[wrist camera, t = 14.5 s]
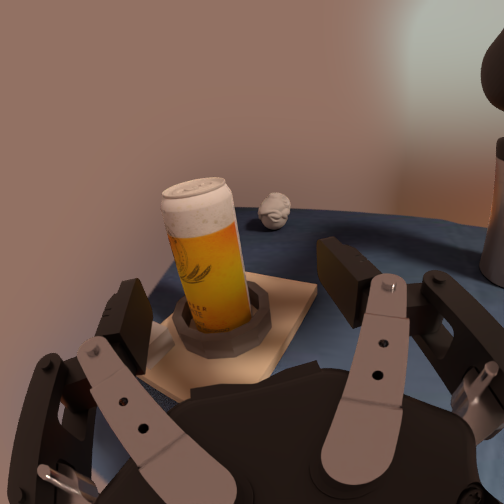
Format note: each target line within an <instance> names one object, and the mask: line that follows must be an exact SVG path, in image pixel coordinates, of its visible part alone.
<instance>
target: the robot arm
mask: <svg viewBox="0 0 504 504" xmlns="http://www.w3.org/2000/svg"><path fill="white" fill-rule="evenodd" d="M481 83H482V88H483V91H484V93H485V95H486V97H487V99H488V100H489V101H490V103H491V104H492V105H494V106H495V107H496V108H498V109H500V110H502V111H504V29H503V30H502V32H501V33H500V34H499V35H498V37H497V38H496V39H495V40H494V42H493V43H492V44H491V46H490V47H489V48H488V50H487V52H486V54H485V56H484V58H483V62H482V67H481ZM479 267H480V270H481V272H482V273H483V275H484V276H485V277H486V278H487V279H489V280H490V281H491V282H493V283H495V284H497V285H498V286H501V287H504V137H502V138H499V139H498V141H497V145H496V167H495V181H494V191H493V199H492V206H491V213H490V219H489V224H488V229H487V234H486V239H485V243H484V248H483V252H482V256H481V260H480V263H479ZM317 272H318V277H319V280H320V282H321V284H322V285H323V286H324V288H325V289H326V291H327V292H328V294H329V295H330V296H331V298H332V299H333V301H334V302H335V304H336V305H337V307H338V308H339V309H340V311H341V312H342V314H343V315H344V317H345V318H346V320H347V321H348V323H349V324H350V326H351V327H352V329H354V328H357V327H360V326H362V327H361V331H360V335H359V339H358V343H357V347H356V351H355V355H354V358H353V362H352V365H351V369H350V372H349V371H346V370H341V369H334V368H322V369H320V367H319V365H318V363H317V360H316V361H312V362H309V363H306V364H302V365H299V366H295V367H291V368H288V369H285V370H283V371H281V372H279V373H277V374H275V375H273V376H271V377H269V378H267V379H264V380H262V381H260V382H258V383H254V384H216V385H210V386H204V387H197V388H191V389H190V398H189V399H186V400H184V401H182V402H180V403H179V404H177V405H175V406H174V407H173V408H171V409H170V410H169V411H168V412H167V413H165V412H164V410H163V409H162V408H161V407H160V406H159V405H158V404H157V403H156V402H155V400H154V399H153V398H152V397H151V396H150V395H149V394H148V392H147V391H146V390H145V389H144V388H143V386H142V385H141V384H140V383H139V382H138V380H137V379H136V378H135V377H136V376H137V375H145V374H146V365H147V357H148V349H149V342H150V335H151V329H152V322H153V312H152V308H151V305H150V303H149V300H148V298H147V296H146V293H145V291H144V289H143V286H142V284H141V282H140V280H139V279H138V278H135V279H130V280H126V281H122V283H121V285H120V288H119V290H118V293H117V294H114V295H113V296H112V297H111V298H110V300H109V301H108V302H107V304H106V307H105V311H104V312H103V315H102V318H101V320H100V323H99V325H98V328H97V331H96V334H95V337H92V338H90V339H88V340H86V341H85V342H84V343H83V344H82V345H81V346H80V347H79V349H78V352H77V356H76V357H74V358H71V359H68V360H66V361H63V360H62V359H61V358H60V356H59V355H58V354H56V353H50V354H47V355H45V356H44V357H43V358H41V360H40V361H39V362H38V363H37V365H36V368H35V370H34V373H33V376H32V379H31V381H30V384H29V387H28V391H27V394H26V397H25V400H24V404H23V407H22V411H21V415H20V419H19V422H18V427H17V431H16V435H15V440H14V446H13V450H12V456H11V463H10V470H9V478H8V488H7V489H8V490H7V495H8V500H9V503H10V504H503V503H502V502H500V501H499V500H497V499H496V498H495V497H493V496H492V495H491V494H490V493H489V492H488V491H487V490H486V489H485V488H484V487H483V485H482V484H481V482H480V479H479V474H478V469H477V460H476V446H477V445H478V444H479V443H481V442H482V441H483V440H489V439H491V438H493V437H494V436H495V435H496V434H497V433H499V432H500V431H501V430H502V429H503V428H504V328H503V327H502V326H501V325H500V324H499V323H498V322H497V321H496V320H495V319H494V317H493V316H492V315H491V314H490V313H489V312H488V311H487V310H486V309H485V308H484V307H483V306H482V305H481V304H480V303H479V302H478V301H477V300H476V299H475V298H474V297H473V296H472V295H471V294H469V293H468V292H467V291H466V290H465V289H464V288H463V287H462V286H461V285H460V284H459V283H458V282H457V281H456V280H454V279H453V278H452V277H451V276H450V275H449V274H447V273H445V272H442V271H438V270H431V271H428V272H426V273H425V274H424V276H423V281H422V283H413V284H406V282H405V281H404V280H403V279H402V278H401V277H399V276H397V275H394V274H382V273H381V272H380V271H379V270H378V269H377V268H376V267H375V266H374V265H373V264H372V263H371V262H370V261H369V260H367V258H365V257H364V256H363V255H362V254H361V253H360V252H359V251H358V250H357V249H356V248H353V247H351V246H349V245H343V244H342V243H341V242H340V241H338V240H337V239H336V238H335V237H334V236H333V237H328V238H324V239H319V240H318V241H317ZM443 318H445V319H446V320H447V322H448V323H449V324H450V325H451V326H452V328H453V331H454V337H453V336H452V335H451V334H450V333H449V331H448V330H447V329H446V328H445V327H444V325H443V324H442V320H443ZM409 336H412V338H413V339H414V340H415V342H416V343H417V344H418V346H419V347H420V349H421V350H422V352H423V353H424V354H425V356H426V357H427V359H428V360H429V362H430V363H431V364H432V366H433V367H434V369H435V370H436V372H437V373H438V375H439V376H440V378H441V379H442V381H443V382H444V384H445V386H446V387H447V389H448V390H449V392H450V393H451V395H452V397H451V407H452V412H450V411H447V410H444V409H441V408H439V407H436V406H433V405H430V404H428V403H425V402H423V401H420V400H417V399H415V398H412V397H410V396H407V395H405V394H403V392H404V384H405V376H406V367H407V357H408V344H409ZM60 402H61V403H62V404H63V405H64V406H65V409H64V414H63V419H62V425H61V424H60V423H59V420H58V410H59V405H60ZM97 406H98V407H99V408H100V410H101V412H102V413H103V415H104V417H105V418H106V420H107V422H108V423H109V425H110V427H111V428H112V430H113V431H114V433H115V434H116V436H117V437H118V439H119V440H120V442H121V443H122V445H123V446H124V448H125V449H126V450H127V452H128V453H129V455H130V456H131V457H130V458H129V460H128V461H127V462H126V463H125V464H124V466H123V467H122V468H121V469H120V471H119V472H118V473H117V474H116V475H115V477H114V478H113V479H112V480H111V481H110V483H109V484H108V485H107V486H106V487H105V489H104V490H103V491H102V492H101V493H98V491H97V487H96V485H95V483H94V482H93V481H92V480H91V468H92V448H93V435H94V424H95V415H96V407H97Z"/></svg>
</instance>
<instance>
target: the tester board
mask: <svg viewBox="0 0 504 504" xmlns="http://www.w3.org/2000/svg"><path fill="white" fill-rule="evenodd" d="M245 274H246V280H247V286H248V292H249V297H250V303H251V309H252V315H253V317H252V318H251V320H250V321H249V322H248V323H246V324H244V325H242V326H240V327H238V328H235V329H233V330H231V331H229V332H222V333H209V334H205V333H202V332H199V331H198V330H197V327H196V325H195V322H194V319H193V316H192V313H191V310H190V307H189V304H188V301H187V298H186V295H184V296H183V297H182V298H181V299H180V300H179V301H178V302H177V303H176V306H175V309H174V312H173V313H172V314H171V315H170V316H169V317H168V318H167V319H166V320H165V321H163V322H162V323H161V324H158V323H156V322H154V321H153V322H152V329H151V335H150V342H149V349H148V357H147V365H146V374H145V375H137V377H138V378H140V379H141V380H143V381H144V382H146V383H147V384H149V385H150V386H152V387H153V388H155V389H156V390H158V391H160V392H161V393H163V394H165V395H166V396H168V397H169V398H171V399H173V400H175V401H176V402H178V403H180V402H182V401H184V400H186V399H189V398H190V389H191V388H197V387H204V386H210V385H216V384H254V383H258V382H260V381H262V380H264V379H267V378H269V377H270V375H271V374H272V372H273V370H274V369H275V367H276V365H277V364H278V362H279V361H280V359H281V357H282V356H283V354H284V352H285V351H286V349H287V347H288V345H289V344H290V342H291V340H292V339H293V337H294V335H295V333H296V332H297V330H298V328H299V326H300V325H301V323H302V321H303V319H304V317H305V316H306V314H307V312H308V310H309V308H310V306H311V305H312V303H313V301H314V299H315V297H316V295H317V284H312V283H306V282H300V281H295V280H289V279H283V278H278V277H272V276H266V275H261V274H255V273H250V272H245Z"/></svg>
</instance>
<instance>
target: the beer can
mask: <svg viewBox="0 0 504 504" xmlns="http://www.w3.org/2000/svg"><path fill="white" fill-rule="evenodd" d="M162 195H163V198H162V203H161V212H162V216H163V219H164V224H165V227H166V231H167V235H168V238H169V242H170V246H171V249H172V252H173V256H174V259H175V263H176V266H177V270H178V273H179V276H180V279H181V283H182V286H183V289H184V292H185V295H186V298H187V301H188V304H189V307H190V310H191V313H192V316H193V319H194V322H195V325H196V327H197V330H198V331H199V332H202V333H205V334H209V333H222V332H229V331H231V330H233V329H235V328H238V327H240V326H242V325H244V324H246V323H248V322H249V321H250V320H251V318H252V317H253V315H252V309H251V303H250V297H249V292H248V286H247V280H246V274H245V269H244V263H243V257H242V251H241V245H240V239H239V233H238V227H237V221H236V215H235V209H234V203H233V197H232V192H231V190H230V189H229V187H228V186H227V185H226V183H225V180H224V179H223V178H218V177H211V178H202V179H196V180H191V181H187V182H183V183H180V184H177V185H175V186H172V187H170V188H168V189H166V190H165V191H163V193H162Z"/></svg>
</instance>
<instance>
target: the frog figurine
mask: <svg viewBox="0 0 504 504" xmlns="http://www.w3.org/2000/svg"><path fill="white" fill-rule="evenodd" d="M290 207H291V204H290V201H289V199H288V198H287V197H286V196H285V195H284V194H281V193H270V194H269V196H268V197H267V198H266V199H265V200H264V201H263V202H262V203H261V206H260V207H259V211H258V214H259V219H261V220H262V223H263V224H264V226H265V227H267V228H269V229H272V230H276V229H280V228H281V227H283V226H284V224H285V223H286V221H287V219H288V217H287V215H289V213H290Z"/></svg>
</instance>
